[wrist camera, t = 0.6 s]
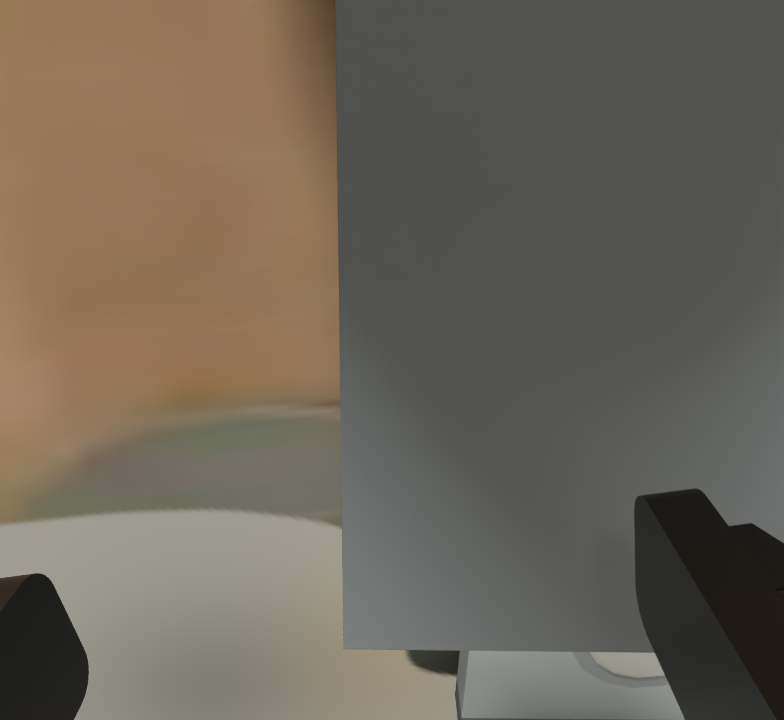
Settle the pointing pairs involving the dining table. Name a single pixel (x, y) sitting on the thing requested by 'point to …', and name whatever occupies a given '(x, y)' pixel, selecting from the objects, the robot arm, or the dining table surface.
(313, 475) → the dining table surface
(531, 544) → the grey shelf
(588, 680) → the grey flat bracket
